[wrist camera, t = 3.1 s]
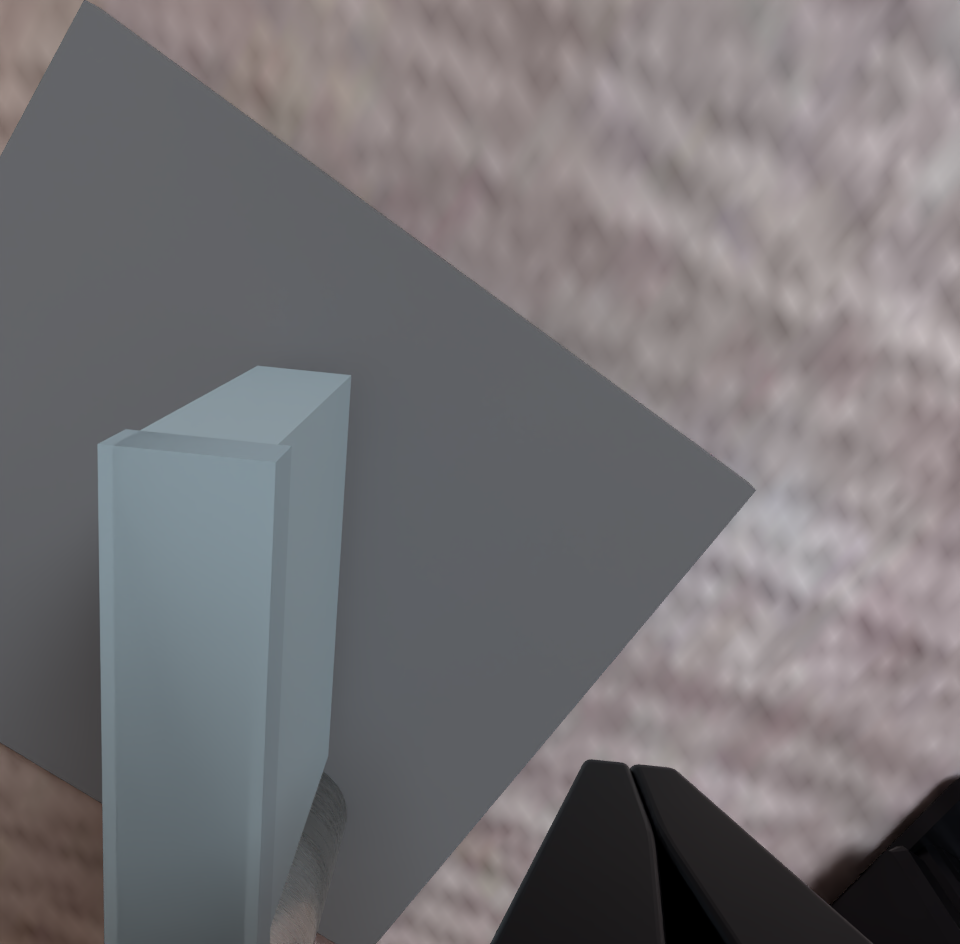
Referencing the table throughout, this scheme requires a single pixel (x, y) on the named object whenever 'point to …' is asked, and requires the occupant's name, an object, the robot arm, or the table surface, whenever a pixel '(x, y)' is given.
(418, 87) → the table surface
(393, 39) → the table surface
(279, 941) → the hinge post
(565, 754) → the table surface
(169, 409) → the mat
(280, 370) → the gate
